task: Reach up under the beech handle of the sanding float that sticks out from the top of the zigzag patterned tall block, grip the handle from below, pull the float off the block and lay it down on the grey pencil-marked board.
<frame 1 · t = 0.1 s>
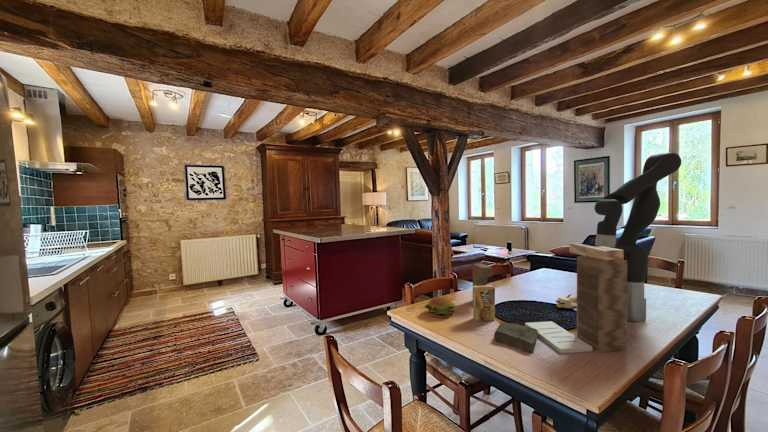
hand: (602, 281, 139), 17 cm above the table, tool pointing down, fingers open, 8 cm apart
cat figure: (578, 306, 160), on the table
sanding float: (604, 259, 115), point 32 cm above the table, touching zigzag patterned tall block
grey board: (555, 337, 124), on the table
candy box: (484, 319, 145), on the table
food: (439, 314, 153), on the table
zigzag patterned tall block: (600, 343, 118), on the table
marble piece: (516, 341, 123), on the table
decorative block: (482, 303, 167), on the table
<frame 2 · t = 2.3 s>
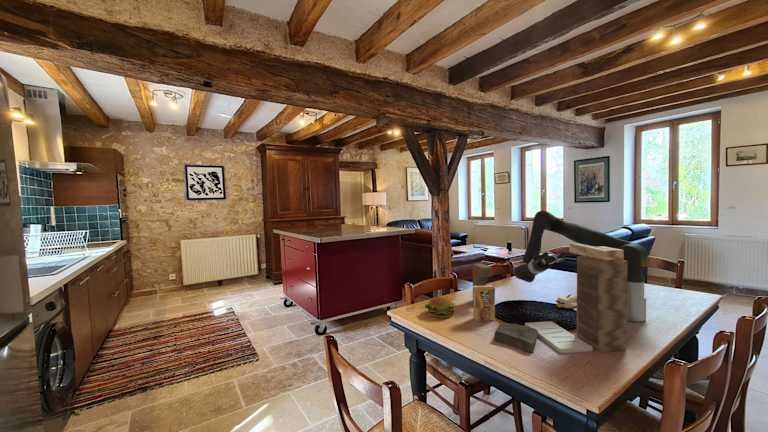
hand: (556, 253, 144), 29 cm above the table, tool pointing upward, fingers open, 8 cm apart
nothing on the table moved.
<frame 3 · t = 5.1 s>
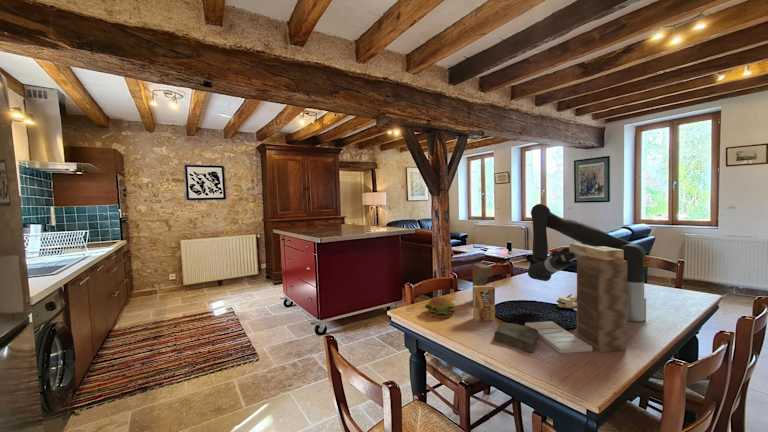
hand: (578, 248, 129), 34 cm above the table, tool pointing upward, fingers open, 8 cm apart
nothing on the table moved.
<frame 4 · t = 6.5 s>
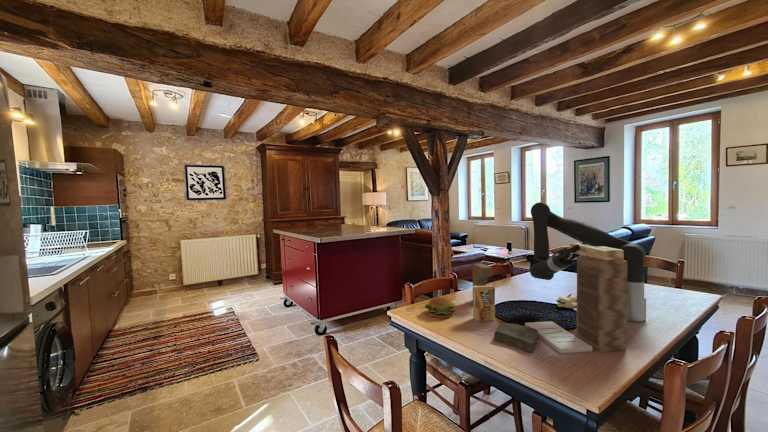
hand: (583, 246, 125), 35 cm above the table, tool pointing upward, fingers closed on sanding float, 3 cm apart
sanding float: (604, 259, 115), point 32 cm above the table, touching gripper, zigzag patterned tall block
everything else where it was.
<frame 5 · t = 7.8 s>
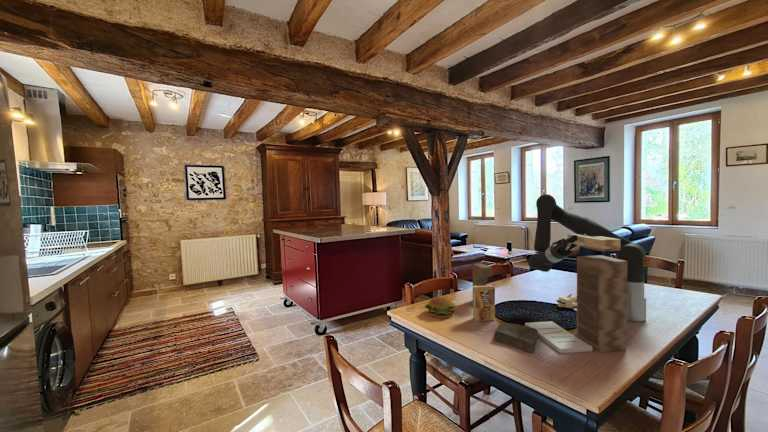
hand: (581, 236, 127), 39 cm above the table, tool pointing upward, fingers closed on sanding float, 3 cm apart
sanding float: (601, 248, 116), point 36 cm above the table, touching gripper
everything else where it was.
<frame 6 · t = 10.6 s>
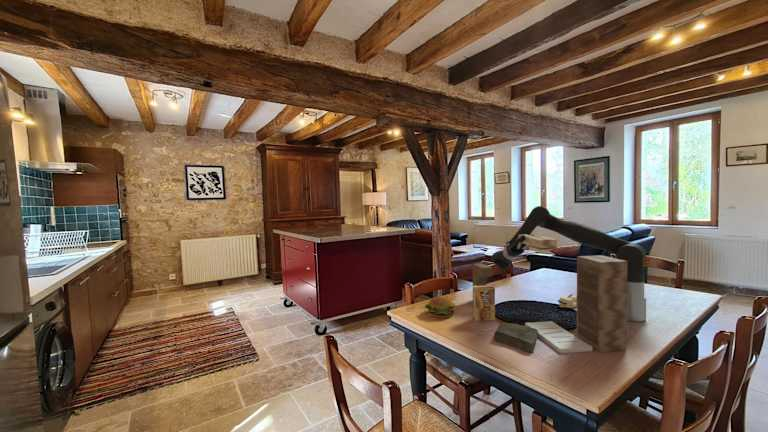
hand: (528, 236, 142), 37 cm above the table, tool pointing upward, fingers closed on sanding float, 3 cm apart
sanding float: (542, 247, 132), point 34 cm above the table, touching gripper
everything else where it was.
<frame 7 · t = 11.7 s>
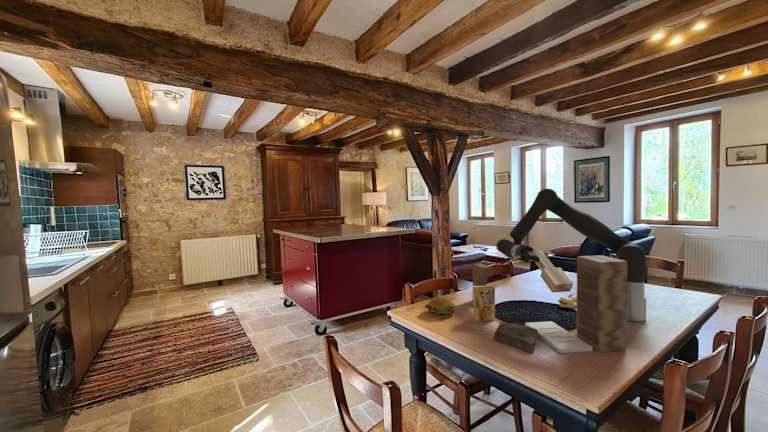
hand: (543, 259, 131), 29 cm above the table, tool horizontal, fingers closed on sanding float, 3 cm apart
sanding float: (554, 283, 123), point 21 cm above the table, tilted 29°, touching gripper
when the fingers open (13 cm above the table, at t = 14.1 s): sanding float drops 3 cm, resting on grey board.
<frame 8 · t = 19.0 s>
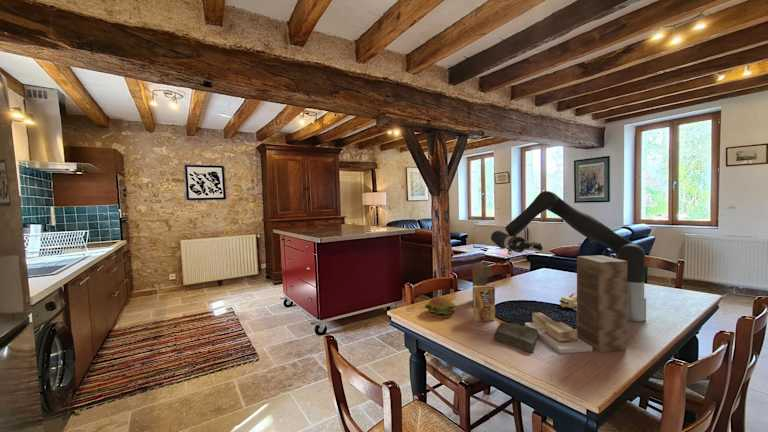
hand: (532, 248, 143), 32 cm above the table, tool horizontal, fingers open, 8 cm apart
sanding float: (560, 337, 121), point 2 cm above the table, touching grey board
at the end: sanding float inside the target area (1.6 cm from its centre), point 1.5 cm above the table; the gripper is holding nothing; sanding float moved 33.7 cm from its start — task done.
